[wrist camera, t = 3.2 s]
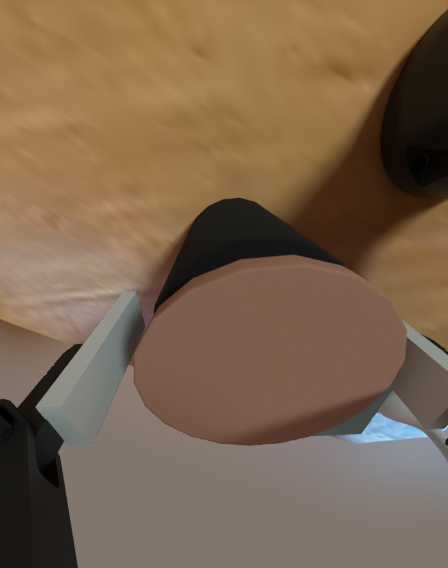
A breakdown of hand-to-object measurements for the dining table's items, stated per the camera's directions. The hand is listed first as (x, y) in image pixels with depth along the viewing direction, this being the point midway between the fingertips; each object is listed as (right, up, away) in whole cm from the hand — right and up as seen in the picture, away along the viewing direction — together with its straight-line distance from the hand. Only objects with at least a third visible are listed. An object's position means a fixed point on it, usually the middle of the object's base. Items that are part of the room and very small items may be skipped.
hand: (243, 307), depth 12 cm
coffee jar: (0, +6, +11) cm, 13 cm away
